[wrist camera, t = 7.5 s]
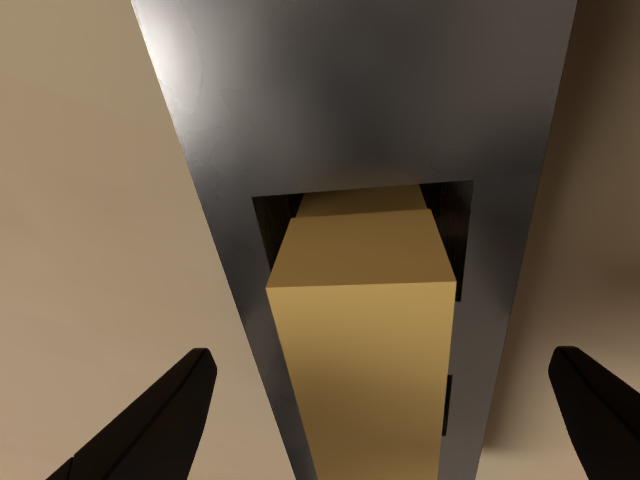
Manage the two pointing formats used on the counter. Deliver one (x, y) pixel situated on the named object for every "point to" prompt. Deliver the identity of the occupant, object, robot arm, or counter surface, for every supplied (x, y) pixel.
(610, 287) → the counter surface
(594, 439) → the robot arm
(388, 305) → the yellow rectangular block
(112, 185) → the counter surface
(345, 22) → the rail
